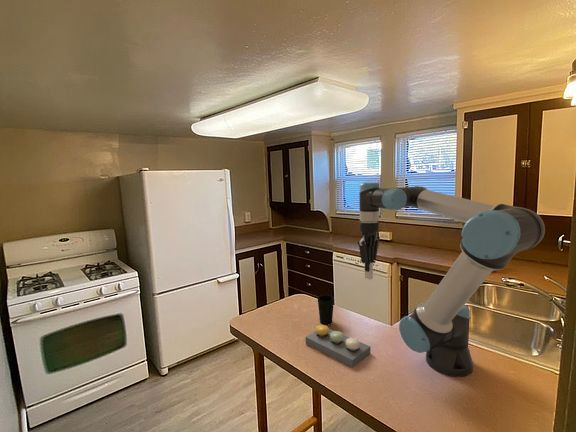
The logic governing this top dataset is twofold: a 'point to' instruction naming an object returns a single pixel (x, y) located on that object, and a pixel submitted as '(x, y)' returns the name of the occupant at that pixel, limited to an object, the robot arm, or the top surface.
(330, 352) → the panel
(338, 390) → the top surface
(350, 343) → the button cream
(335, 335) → the button sage
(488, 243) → the robot arm
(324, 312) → the cup
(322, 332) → the button amber
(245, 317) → the top surface
